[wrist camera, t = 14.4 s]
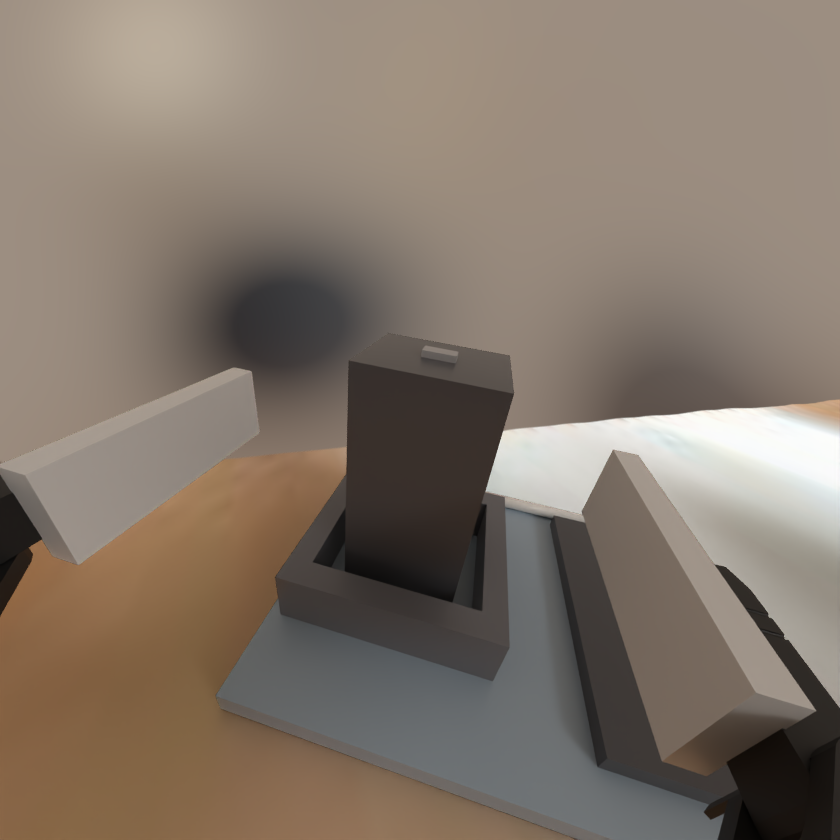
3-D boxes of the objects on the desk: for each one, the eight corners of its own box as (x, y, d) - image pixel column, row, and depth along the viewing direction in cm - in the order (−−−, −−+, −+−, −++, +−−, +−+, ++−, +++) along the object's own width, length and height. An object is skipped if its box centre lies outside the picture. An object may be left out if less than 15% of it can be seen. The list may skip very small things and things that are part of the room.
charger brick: (458, 545, 18) (511, 349, 12) (448, 615, 14) (516, 385, 9) (373, 522, 18) (389, 326, 13) (344, 584, 15) (348, 352, 10)
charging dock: (665, 549, 21) (694, 510, 19) (901, 958, 9) (1037, 949, 7) (363, 475, 24) (365, 434, 22) (220, 708, 11) (200, 658, 10)
